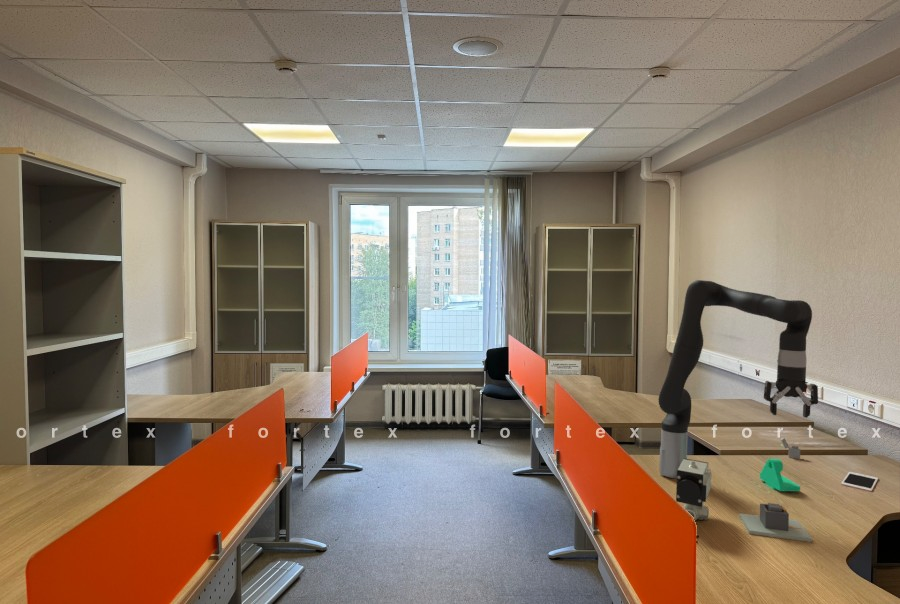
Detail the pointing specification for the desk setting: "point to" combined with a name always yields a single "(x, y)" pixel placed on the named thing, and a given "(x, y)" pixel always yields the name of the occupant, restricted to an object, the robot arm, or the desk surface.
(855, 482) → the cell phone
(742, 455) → the desk surface
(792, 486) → the camera mount
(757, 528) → the grey base with post
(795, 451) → the lighter
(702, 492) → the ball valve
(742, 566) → the desk surface
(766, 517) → the grey open box
